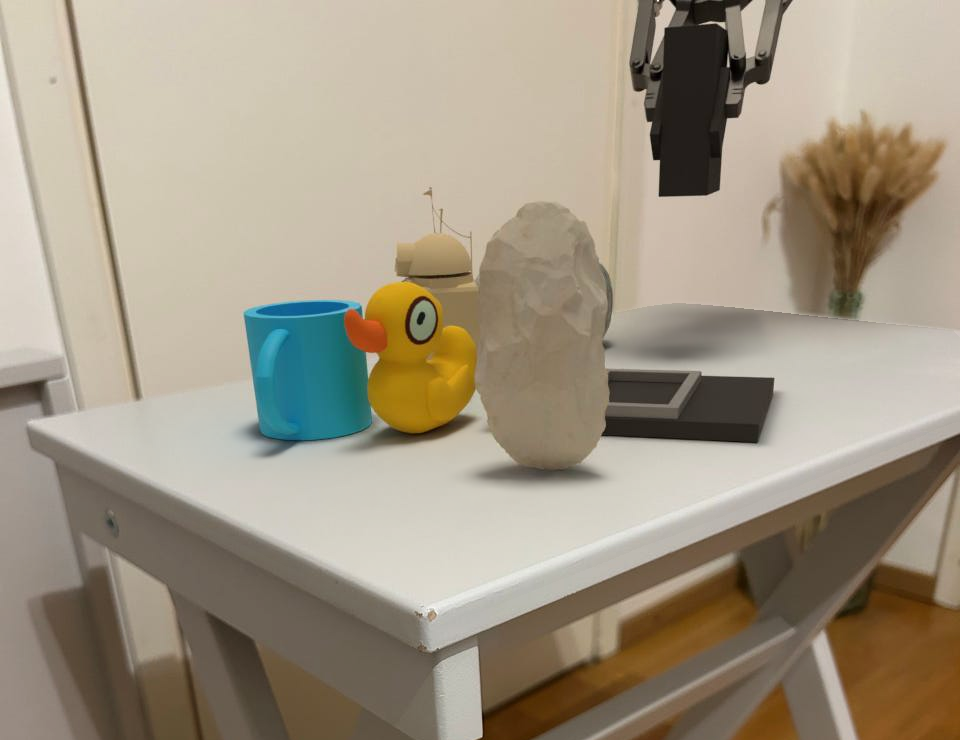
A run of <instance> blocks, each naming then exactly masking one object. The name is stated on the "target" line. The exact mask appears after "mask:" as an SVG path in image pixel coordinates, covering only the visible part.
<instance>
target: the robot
mask: <svg viewBox="0 0 960 740" xmlns="http://www.w3.org/2000/svg"><path fill="white" fill-rule="evenodd" d="M428 188H429V190H427V191H425V192H424V193H422V195H424V196H430V198H431V200H433V190H432V189H433V187H432V186H431V187H428ZM431 209H432V211H431V213H432V214H434V213H435V215H436V217H438V219H439V221H440V222H439V232H436V226H435V225H433V233H429V234H427V235H424V236H422V237H421V238H419V239H418V240H416V242H415V243H413V242H412V243H411V242H396V257H395V264H394V272H395V273H396V275H395V276H396V277H400V278H404V279H403V280H401V282H411V283H414V284H416V285H419V286H421V287H422V288H424V289H425V290H427V291H428V292H429V293H430V294H431V295H432V296H433V297H434V298H435V299H437V300H438V301H439V302H440V304H441V306H442V309H443V328H444V327H447V326H458V327H461V328H463V329H465V330H466V331H467V332H468V334H469V335H470V337H471V338H472V340H473V342H474V344H475V347H476V355H477V358H478V350H479V337H480V334H481V329H480V326H479V324H478V311H477V308H476V303H477V300H478V297H479V289H478V287H477V284H476V282H475V278H474V274H473V246H472V245H473V244H472V241H473V239H472V231H469V236H468V235H464V234H461V233H459V232H457V231H455V230H454V229H453V228H451V227H450V226H449V225H447V224H446V222H444V221H443V211H444V208H440V209H438V211H440V212H439V213H440V216H439V215H438V213H437V212H436V210H435V208H434V204H433V203H431ZM432 221H433V224H435V219H434V216H432ZM443 224H444V225H445V226H446V227H447V228H448V229H449V230H451V231H452V232H453V233H455V234H456V235H459V236H461V237H464V238H467V239H470V254H469V252H468V250H467V249H466V247H465V246H464V245H463V244H462V242H461V241H460V240H458V239H457V238H455V237H454V236H452V235H450V234H447V233H443V232H442V227H443V226H442V225H443ZM433 352H434V350H433ZM433 352H432V353H431V354H430V355H429V356H428V357H427V359H426V361H427V360H431V359H432V356H433Z"/></svg>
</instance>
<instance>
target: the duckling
mask: <svg viewBox="0 0 960 740" xmlns="http://www.w3.org/2000/svg"><path fill="white" fill-rule="evenodd" d="M344 326H345V329H346V333H347V336H348V338H349V340H350V342H351V343H352V344H353V345H354V346H355V347H356V348H358V349H360V350H362V351H364V352H366V353H368V354H376V355H377V356H378V360H377V362H375V364H374V365H373V367H372V369H371V371H370V373H369V375H368V385H367V394H368V399H369V402H370V405H371V410H373V412H374V413H375V414H376V416H378V417H379V418H380V419H381V420H382V421H383V422H384V423H385V424H386V425H388V426H389V427H390V428H392V429H394V430H396V431H399V432H403V433H406V434H423V433H425V432H429V431H431V430H433V429H436V428H439V427H442V426H444V425H446V424H447V423H449V422H450V421H453V420H454V419H455V418H456V417H457V416H458V415H459V414H460V413H461V412H462V411H463V410H464V409H465V408H466V407H467V406H468V404H469V403H470V402H471V400H472V398H473V396H474V394H475V391H476V388H475V382H474V375H475V370H476V364H477V355H476V347H475V344H474V342H473V340H472V338H471V337H470V335H469V334H468V332H467V331H466V330H465V329H463V328H461V327H458V326H447V327H444V328H443V309H442V306H441V304H440V302H439V301H438V300H437V299H435V298H434V297H433V296H432V295H431V294H430V293H429V292H428V291H427V290H425V289H424V288H422V287H421V286H419V285H416V284H414V283H411V282H402V281H399V282H396V281H395V282H389V283H388V284H384V285H382V286H381V287H379V288H378V289H377V290H376V291H374V293H373V294H372V295H371V296H370V298H369V300H368V301H367V304H366V307H365V312H364V317H363V318H361V317H360V315H359V314H358V312H357V311H356V310H354V309H349V310H348V311H347V312H346V314H345V318H344ZM433 350H434V352H433ZM432 352H433V356H432V359H431V360H427V361H426V359H427V357H428V356H429V355H430V354H431V353H432Z"/></svg>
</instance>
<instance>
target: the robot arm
mask: <svg viewBox="0 0 960 740" xmlns="http://www.w3.org/2000/svg"><path fill="white" fill-rule="evenodd" d="M665 1H666V0H636V8H637V12H636V19H635V23H634V24H635V25H634V30H633V37H632V42H631V49H630V56H629V62H628V64H629V66H628V67H629V72H630V78H631V86H632V90H633V92H636V93H640V92H643V91H645V90H646V91H645V95H644V101H643V108H644V114H645V120H646V123H651V126H650V131H649V140H650V146H651V147H650V149H651V154H652V161H660V143H661V112H662V84H663V55H664V36H663V37H662V39H661V41H660V44H659V45H658V48H657V50H656V53H655V55H654V56H653V49H654V41H655V35H656V27H657V21H656V18H657V17H659V16H660V14H661V10H662V8H663V4H664V2H665ZM753 1H754V0H668V2H670V3H671V5H672V6H673V7H674V8H675V10H674V12H673V15H672V17H671V19H670V21H669V23H668V26H667V27H677V26H689V25H701V24H708V23H710V22H712V23H724V29H726V30H727V32H728V66H727V67H722V68H721V69H720V75H719V81H718V87H717V92H716V98H715V104H714V109H713V115H712V120H711V126H710V131H709V133H710V146H711V158H721V152H722V153H723V146H724V139H725V134H726V128H727V122H728V119H739V118H740V116H741V114H742V110H743V105H744V98H745V93H746V89H747V87H748V86H749V85H751V84H754V83H755V84H757V85H760V86H762V85H766V84H768V83H769V82H770V79H771V77H772V70H773V66H774V61H775V55H776V51H777V47H778V41H779V37H780V31H781V26H782V21H783V17H784V14H785V12H786V11H787V10H788V8H789V7H790V5H791V4H792V2H793V1H794V0H764V2H765V3H764V7H763V13H762V17H761V22H760V27H759V32H758V36H757V41H756V45H755V51H754V55H753V56H750V57H747V51H746V48H745V47H746V46H745V36H744V28H743V21H742V19H743V18H742V12H743V10H745V8H747V7H748V6H749V5H750V4H751V3H752V2H753ZM652 56H653V58H652Z"/></svg>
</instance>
